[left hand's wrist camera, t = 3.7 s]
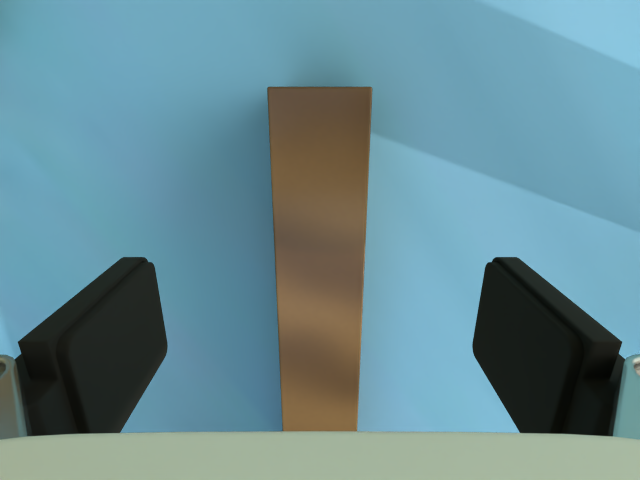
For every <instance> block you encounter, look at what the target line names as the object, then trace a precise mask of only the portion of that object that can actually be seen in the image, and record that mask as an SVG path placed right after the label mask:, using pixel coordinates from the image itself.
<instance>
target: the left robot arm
mask: <svg viewBox="0 0 640 480" xmlns="http://www.w3.org/2000/svg"><path fill="white" fill-rule="evenodd" d="M18 344H19V347H20V350H21V353H22V354H21V355H19V356H18V357H17V358H16V359H15V360H14V358H13V357H10V356H8V355H0V480H640V355H632V356H630V357H627V358H626V360H625V359H624V358H623V357H622V356H621V355H619V354H618V353H619V350H620V347H621V344H622V341H620V340H619V339H618V338H617V337H615V336H614V335H613V334H612V333H610V332H609V331H608V330H607V329H605V328H604V327H603V326H602V325H601V324H599V323H598V322H597V321H596V320H594V319H593V318H592V317H591V316H589V315H588V314H587V313H586V312H584V311H583V310H582V309H581V308H580V307H578V306H577V305H576V304H575V303H573V302H572V301H571V300H570V299H568V298H567V297H566V296H565V295H563V294H562V293H561V292H560V291H559V290H557V289H556V288H555V287H554V286H552V285H551V284H550V283H549V282H547V281H546V280H545V279H544V278H542V277H541V276H540V275H539V274H538V273H536V272H535V271H534V270H533V269H531V268H530V267H529V266H528V265H526V264H525V263H524V262H523V261H521V260H520V259H519V258H517V257H496V258H494V259H493V261H492V262H489V263H487V265H486V267H485V272H484V278H483V284H482V290H481V296H480V302H479V308H478V314H477V320H476V326H475V332H474V338H473V353H474V356H475V358H476V360H477V361H478V363H479V365H480V366H481V368H482V370H483V371H484V373H485V375H486V376H487V378H488V380H489V381H490V383H491V385H492V386H493V388H494V390H495V391H496V393H497V395H498V396H499V398H500V400H501V401H502V403H503V405H504V407H505V408H506V410H507V412H508V413H509V415H510V417H511V418H512V420H513V422H514V423H515V425H516V427H517V428H518V430H519V432H520V433H489V432H363V431H277V432H151V433H120V432H121V430H122V428H123V427H124V425H125V423H126V422H127V420H128V418H129V417H130V415H131V413H132V412H133V410H134V408H135V407H136V405H137V403H138V401H139V400H140V398H141V396H142V395H143V393H144V391H145V390H146V388H147V386H148V385H149V383H150V381H151V380H152V378H153V376H154V375H155V373H156V371H157V370H158V368H159V366H160V365H161V363H162V361H163V360H164V358H165V356H166V353H167V338H166V332H165V326H164V320H163V314H162V308H161V302H160V296H159V290H158V284H157V278H156V272H155V267H154V265H153V263H151V262H148V261H147V259H146V258H144V257H123V258H121V259H120V260H119V261H117V262H116V263H115V264H114V265H112V266H111V267H110V268H109V269H107V270H106V271H105V272H104V273H102V274H101V275H100V276H99V277H98V278H96V279H95V280H94V281H93V282H91V283H90V284H89V285H88V286H86V287H85V288H84V289H83V290H81V291H80V292H79V293H78V294H77V295H75V296H74V297H73V298H72V299H70V300H69V301H68V302H67V303H65V304H64V305H63V306H62V307H60V308H59V309H58V310H57V311H56V312H54V313H53V314H52V315H51V316H49V317H48V318H47V319H46V320H44V321H43V322H42V323H41V324H39V325H38V326H37V327H36V328H35V329H33V330H32V331H31V332H30V333H28V334H27V335H26V336H25V337H23V338H22V339H21V340H20V341H18Z"/></svg>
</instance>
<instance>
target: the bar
mask: <svg viewBox="0 0 640 480" xmlns="http://www.w3.org/2000/svg"><path fill="white" fill-rule="evenodd" d="M267 92H268V114H269V136H270V159H271V181H272V203H273V226H274V248H275V270H276V293H277V315H278V337H279V359H280V382H281V404H282V426H283V431H357V419H358V397H359V375H360V352H361V330H362V307H363V285H364V263H365V240H366V218H367V195H368V173H369V151H370V128H371V106H372V87H268V88H267Z"/></svg>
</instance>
